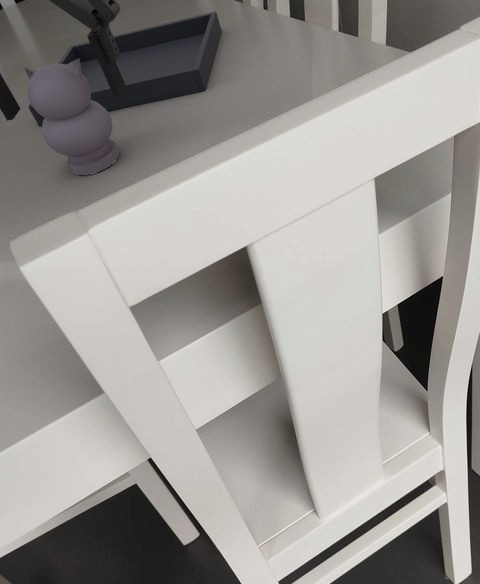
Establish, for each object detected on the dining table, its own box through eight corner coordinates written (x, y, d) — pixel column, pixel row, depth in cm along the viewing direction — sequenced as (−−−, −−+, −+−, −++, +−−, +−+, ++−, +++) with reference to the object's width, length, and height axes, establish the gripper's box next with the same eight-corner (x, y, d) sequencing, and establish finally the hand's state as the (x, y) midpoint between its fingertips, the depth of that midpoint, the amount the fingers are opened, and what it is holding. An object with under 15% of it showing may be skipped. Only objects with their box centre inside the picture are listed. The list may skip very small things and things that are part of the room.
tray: (38, 126, 86) (27, 106, 84) (78, 64, 101) (69, 46, 98) (205, 90, 82) (198, 68, 79) (221, 30, 96) (216, 11, 94)
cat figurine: (52, 181, 73) (-4, 87, 65) (80, 147, 78) (32, 55, 69) (111, 177, 71) (61, 78, 62) (136, 142, 75) (93, 45, 67)
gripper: (86, -170, 54) (171, 65, 69) (-144, -95, 58) (-17, 109, 73) (62, -156, 49) (160, 94, 64) (-188, -76, 53) (-41, 139, 68)
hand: (66, 103), depth 69 cm, fingers open, 13 cm apart
